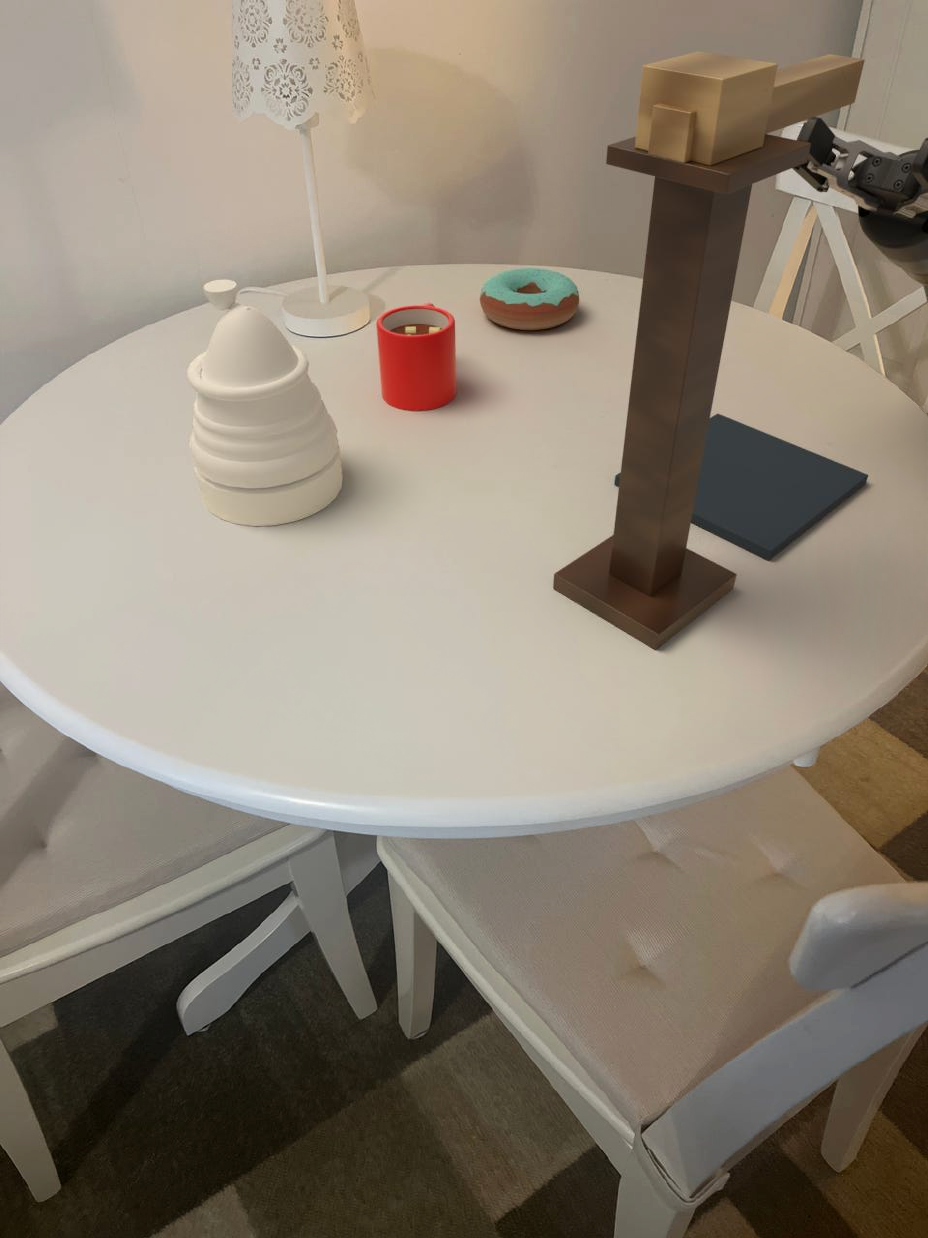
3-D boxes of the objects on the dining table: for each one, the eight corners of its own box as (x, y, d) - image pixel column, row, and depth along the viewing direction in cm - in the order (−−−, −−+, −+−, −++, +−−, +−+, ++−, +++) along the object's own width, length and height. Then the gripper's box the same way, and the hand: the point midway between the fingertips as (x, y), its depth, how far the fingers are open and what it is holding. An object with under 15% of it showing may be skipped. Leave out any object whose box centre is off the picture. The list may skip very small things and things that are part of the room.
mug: (466, 360, 103) (465, 290, 98) (450, 412, 94) (448, 339, 89) (397, 356, 104) (392, 287, 99) (374, 408, 95) (368, 335, 90)
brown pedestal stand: (733, 588, 72) (837, 142, 51) (655, 650, 67) (735, 182, 46) (632, 535, 78) (688, 112, 57) (552, 588, 73) (581, 144, 51)
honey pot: (170, 496, 83) (118, 300, 71) (269, 435, 91) (237, 250, 79) (276, 543, 78) (238, 339, 66) (371, 473, 85) (353, 280, 74)
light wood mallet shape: (874, 106, 57) (893, 30, 55) (704, 168, 48) (717, 80, 45) (802, 93, 60) (816, 21, 57) (628, 149, 51) (636, 66, 48)
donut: (598, 313, 112) (601, 280, 109) (533, 345, 106) (535, 311, 103) (524, 287, 118) (525, 256, 116) (459, 315, 112) (458, 283, 109)
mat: (865, 484, 83) (868, 474, 82) (768, 561, 75) (771, 551, 74) (715, 421, 92) (717, 412, 91) (613, 484, 84) (615, 475, 83)
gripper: (862, 152, 79) (796, 68, 66) (1034, 187, 71) (996, 100, 58) (821, 241, 81) (749, 176, 68) (983, 284, 73) (936, 220, 61)
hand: (863, 141), depth 63 cm, fingers open, 8 cm apart
